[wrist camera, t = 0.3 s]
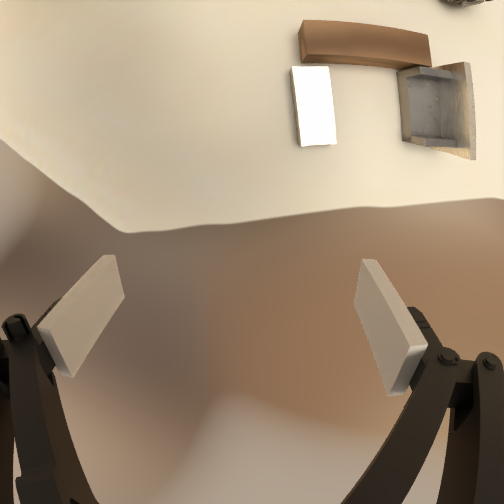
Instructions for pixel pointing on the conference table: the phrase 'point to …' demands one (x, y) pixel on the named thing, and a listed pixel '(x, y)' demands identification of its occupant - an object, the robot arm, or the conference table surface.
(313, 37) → the rail
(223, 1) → the conference table surface
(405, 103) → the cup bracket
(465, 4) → the camera
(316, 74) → the rest block
